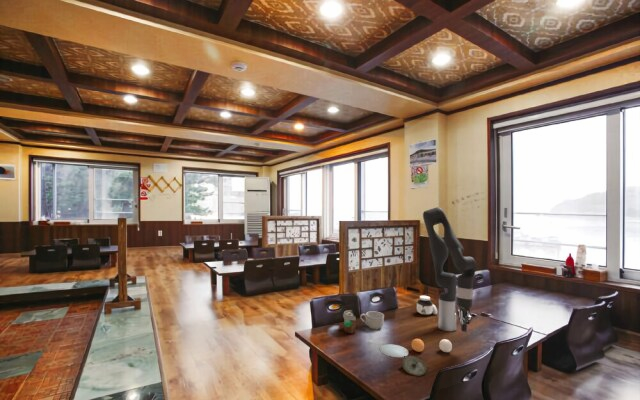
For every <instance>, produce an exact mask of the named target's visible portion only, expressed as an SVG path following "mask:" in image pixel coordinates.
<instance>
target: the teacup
mask: <svg viewBox="0 0 640 400" xmlns="http://www.w3.org/2000/svg"><path fill="white" fill-rule="evenodd" d="M359 317H360V320H361V321H362V323H364V324H365V325H366V326H367V327H368V328H370V329H372V330H379V329H381V328H382V327H383V326H384V322H385V321H384V320H385V314H384V313H383V312H379V311H374V310H370V311H367V312H366V313H361V314H360V316H359ZM363 317H364V318H365V319H363Z"/></svg>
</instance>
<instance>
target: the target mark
mask: <svg viewBox="0 0 640 400" xmlns="http://www.w3.org/2000/svg"><path fill="white" fill-rule="evenodd" d="M379 351H380V352H381V353H382V354H384V355H385V356H387V357H390V356H391V357H392V358H405V357H407V356H408V355H409V350H408V349H407V348H406V347H403V346H401V345H399V344H393V343H389V344H383V345H381V346H380V347H379ZM404 356H405V357H404Z"/></svg>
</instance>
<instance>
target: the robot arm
mask: <svg viewBox="0 0 640 400" xmlns="http://www.w3.org/2000/svg"><path fill="white" fill-rule="evenodd" d="M422 218H423V219H422V220H423V222H424V226H425V229H426V232H427V236H428V240H429V245H430V247H429V248H430V253H431V255H432V256H431V257H432V261H433V265H434V274H435V282H436V285H437V286H438V287H439V288H443V289H447V291H446V292H441V293H438V323H437V324H438V326H437V327H438V329H440V330H442V331H446V332H454V331H457V317H458V321H460V330H461V331H462V332H463V333H466V332H467V331H468V330H467V329H468V325H470V324H471V322H472V320H473V316H472V315H471V310H470V309H471V308H473V305H474V304H473V303H474V290H473V289H474V288H473V286H474V282H473V280H474V278H475V274H476V270H477V262H476V259H475V258H474V257H472V256H468V255H467V256H464V255H463V253H464V252H465V248H464V247H463V244H462V243H461V242H460V240H459V239H458V238H457V235H456V234H455V232H454V230H453V227H452V225H451V223H450V221H449V219H448V217H447V215H446V214H445V211H444V210H443V209H442V208H441V207H439V206H438V207H433V208H430V209H427V210H424V211H423V213H422ZM440 224H441V225H442V226H443V231H444V232H443V238H442V237H441V236H440V235H439V234H438V233H437V232H436V231H435V229H434V228H435V227H434V226H436V225H440ZM449 253H450V256H451V260H452V262H453V265H454V266H455V268H456V270H459V271H460V272H462V273H461V274H460V275H458V276H457V275H456V274H455V273H452V272H445V271H444V268H443V267H444V264H445V262H446V260H447V259H448V257H449ZM456 305H457V306H458V308H456Z"/></svg>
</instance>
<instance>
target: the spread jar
mask: <svg viewBox="0 0 640 400" xmlns="http://www.w3.org/2000/svg"><path fill="white" fill-rule="evenodd" d="M416 312H417V313H418V314H419V315H421V316H423V315H424V317H429V316H431V315H432V314H433V315H437V314H439V310H438V308H437V306H436V305H435V304H433V302H432V301H431V297H430V296H427V295H420V296H419V299H418V300H417V302H416Z"/></svg>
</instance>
